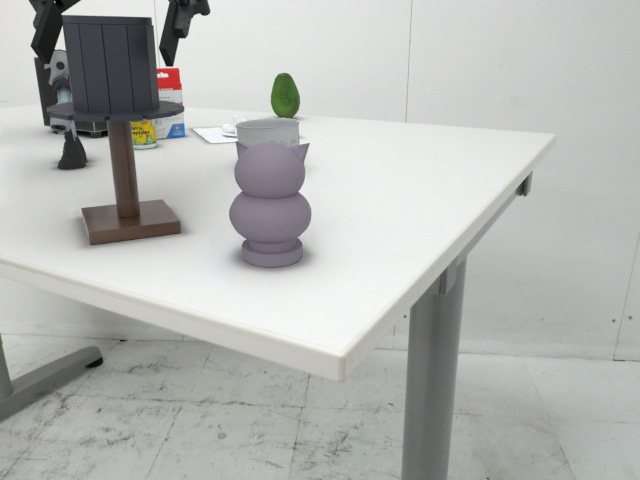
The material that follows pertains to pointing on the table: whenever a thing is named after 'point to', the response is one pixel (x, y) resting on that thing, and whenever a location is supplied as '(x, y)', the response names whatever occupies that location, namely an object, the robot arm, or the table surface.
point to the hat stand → (127, 199)
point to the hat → (111, 71)
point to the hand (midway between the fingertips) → (102, 56)
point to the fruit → (285, 96)
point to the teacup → (269, 131)
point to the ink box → (170, 92)
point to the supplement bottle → (144, 134)
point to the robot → (72, 146)
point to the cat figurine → (270, 203)
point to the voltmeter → (50, 99)
